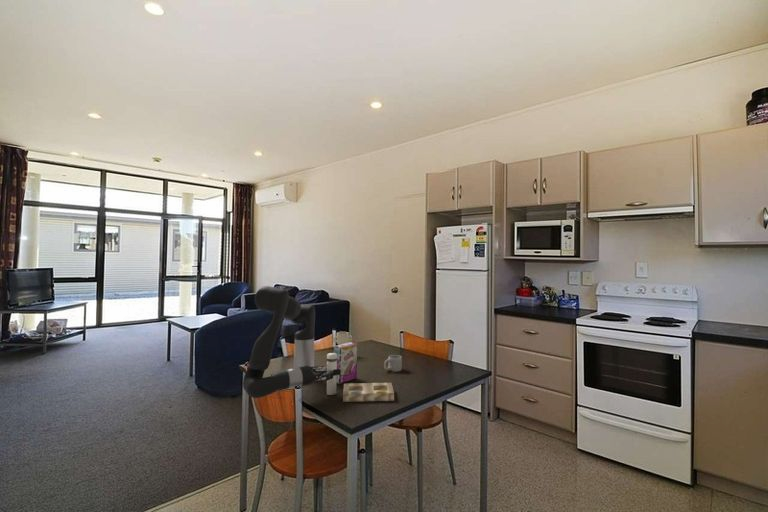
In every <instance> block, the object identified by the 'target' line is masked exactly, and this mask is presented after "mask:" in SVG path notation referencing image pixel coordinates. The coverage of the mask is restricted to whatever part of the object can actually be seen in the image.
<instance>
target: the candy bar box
mask: <svg viewBox="0 0 768 512" xmlns="http://www.w3.org/2000/svg"><path fill="white" fill-rule="evenodd" d="M332 353H336V354H337V369H341V374H340V375H337V385H341V384H344V383H346V382H347V383H348V382H349V381H353V380H355V379H357V377H358V376H357V375H358V371H357V368H358V343H355V342H352V341H349V343H345V344H340V345H338V344H337V345H334V346H333V352H332Z"/></svg>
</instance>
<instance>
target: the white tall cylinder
mask: <svg viewBox="0 0 768 512" xmlns="http://www.w3.org/2000/svg"><path fill="white" fill-rule="evenodd" d="M326 367H327V371H328V370H335V369H337V354H336V353H333V352H330V353H327V354H326ZM337 385H338V384H337V375H335V376H333V379H330V380H327V381H326V395H328V396H334V395H336V394H337Z"/></svg>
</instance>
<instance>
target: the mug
mask: <svg viewBox="0 0 768 512" xmlns="http://www.w3.org/2000/svg"><path fill="white" fill-rule="evenodd" d="M402 357H403V356H402V355H399V354H390V355H388V358H387V359H386V360H384V363H383V368H384V370H386V371H389V372H392V373H396V372H401V371H402V367H403V366H402V365H403V364H402V362H403V360H402V359H403V358H402ZM387 363H388V364H387ZM387 365H388V366H387Z"/></svg>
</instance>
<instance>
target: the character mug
mask: <svg viewBox="0 0 768 512" xmlns="http://www.w3.org/2000/svg"><path fill="white" fill-rule="evenodd" d="M352 341H353V336H352V335H351V334H350V332H347V331H338V332H336V335H334V336H333V343H336V344H337V345H340V344H345V343H349V342H352Z"/></svg>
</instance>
